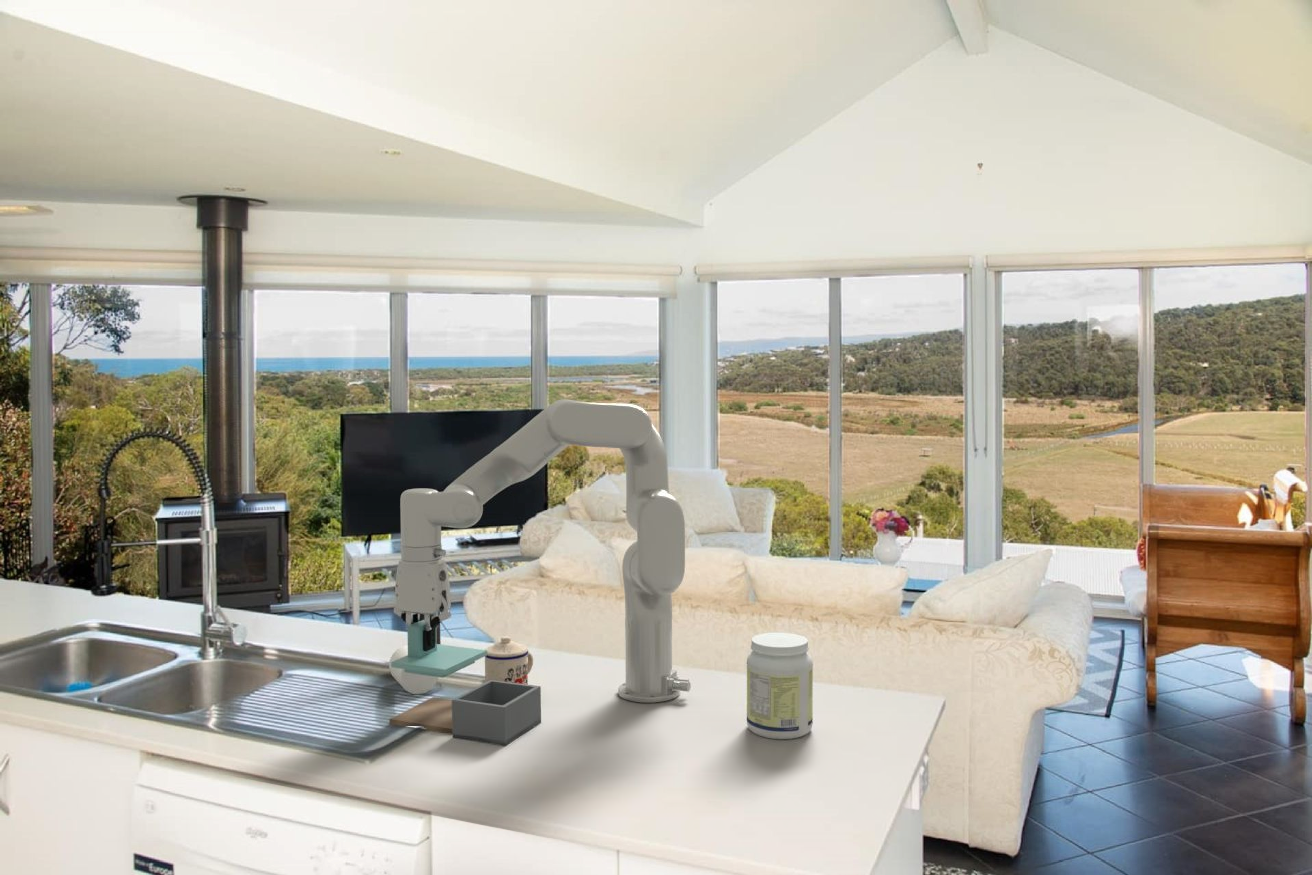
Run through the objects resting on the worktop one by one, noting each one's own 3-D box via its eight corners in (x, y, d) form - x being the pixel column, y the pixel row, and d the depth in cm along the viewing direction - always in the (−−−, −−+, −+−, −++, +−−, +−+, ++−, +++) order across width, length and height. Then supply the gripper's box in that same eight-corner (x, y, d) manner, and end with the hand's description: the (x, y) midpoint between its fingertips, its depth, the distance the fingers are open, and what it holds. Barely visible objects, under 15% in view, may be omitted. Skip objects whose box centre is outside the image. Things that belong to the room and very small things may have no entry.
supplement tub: (774, 713, 202) (774, 627, 201) (826, 729, 194) (826, 639, 192) (732, 729, 194) (732, 639, 193) (784, 746, 185) (785, 652, 184)
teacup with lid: (506, 702, 210) (505, 645, 209) (474, 694, 215) (473, 638, 214) (547, 687, 219) (547, 632, 218) (516, 679, 225) (516, 626, 224)
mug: (400, 697, 214) (400, 658, 213) (389, 684, 222) (388, 647, 222) (458, 688, 219) (457, 651, 219) (444, 676, 228) (444, 640, 227)
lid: (486, 661, 204) (486, 619, 204) (445, 681, 192) (445, 637, 191) (435, 654, 209) (434, 613, 208) (391, 673, 196) (390, 630, 196)
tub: (541, 722, 198) (540, 686, 197) (505, 745, 186) (504, 707, 185) (490, 715, 202) (490, 679, 202) (452, 737, 190) (451, 699, 190)
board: (493, 710, 205) (493, 705, 205) (452, 734, 192) (452, 728, 192) (433, 701, 210) (433, 696, 210) (389, 724, 197) (389, 718, 197)
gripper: (467, 553, 201) (468, 648, 202) (398, 547, 207) (399, 639, 208) (445, 560, 194) (446, 658, 195) (374, 553, 200) (375, 648, 201)
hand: (422, 647), depth 202 cm, fingers closed on lid
